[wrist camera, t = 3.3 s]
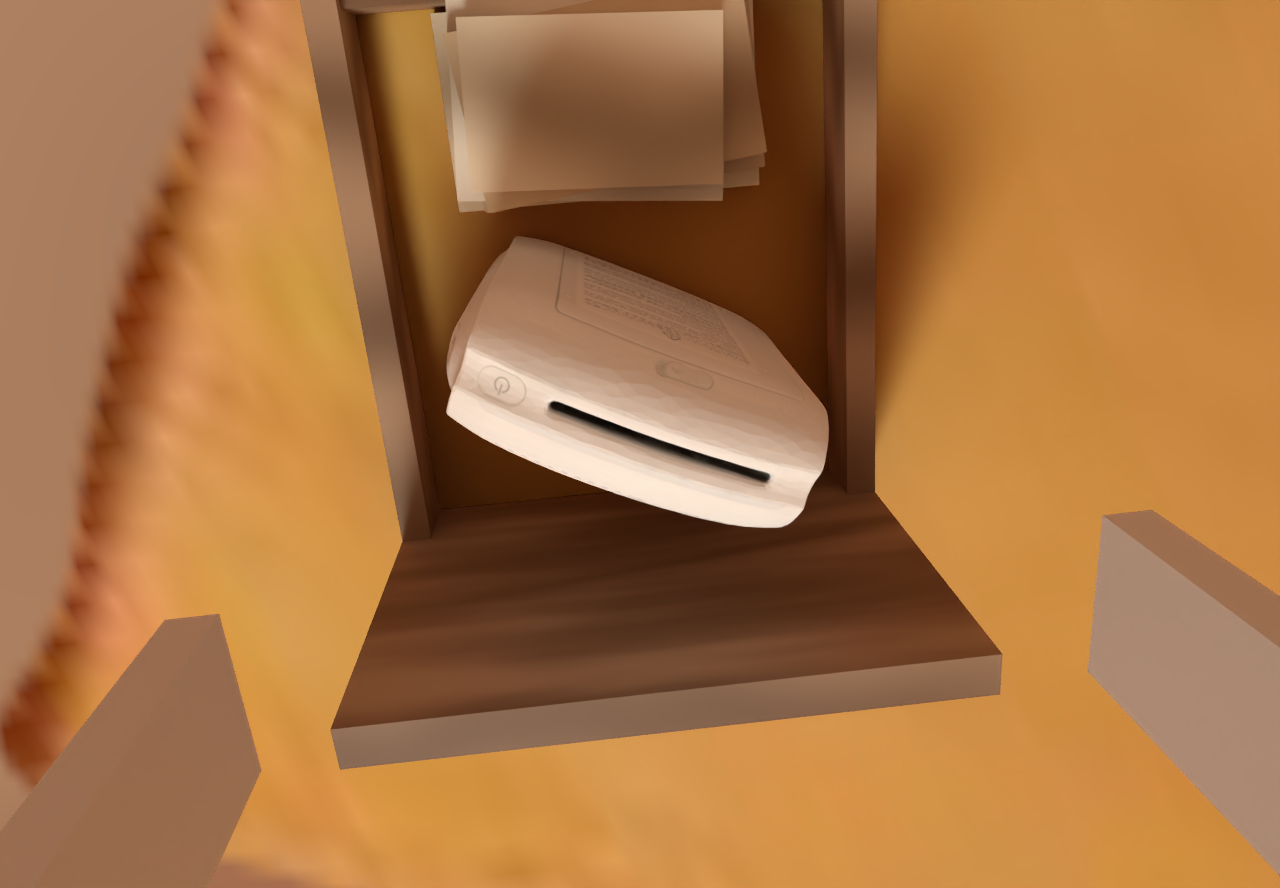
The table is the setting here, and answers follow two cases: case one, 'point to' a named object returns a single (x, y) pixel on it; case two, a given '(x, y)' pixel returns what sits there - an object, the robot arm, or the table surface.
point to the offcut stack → (598, 100)
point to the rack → (636, 520)
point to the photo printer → (634, 388)
